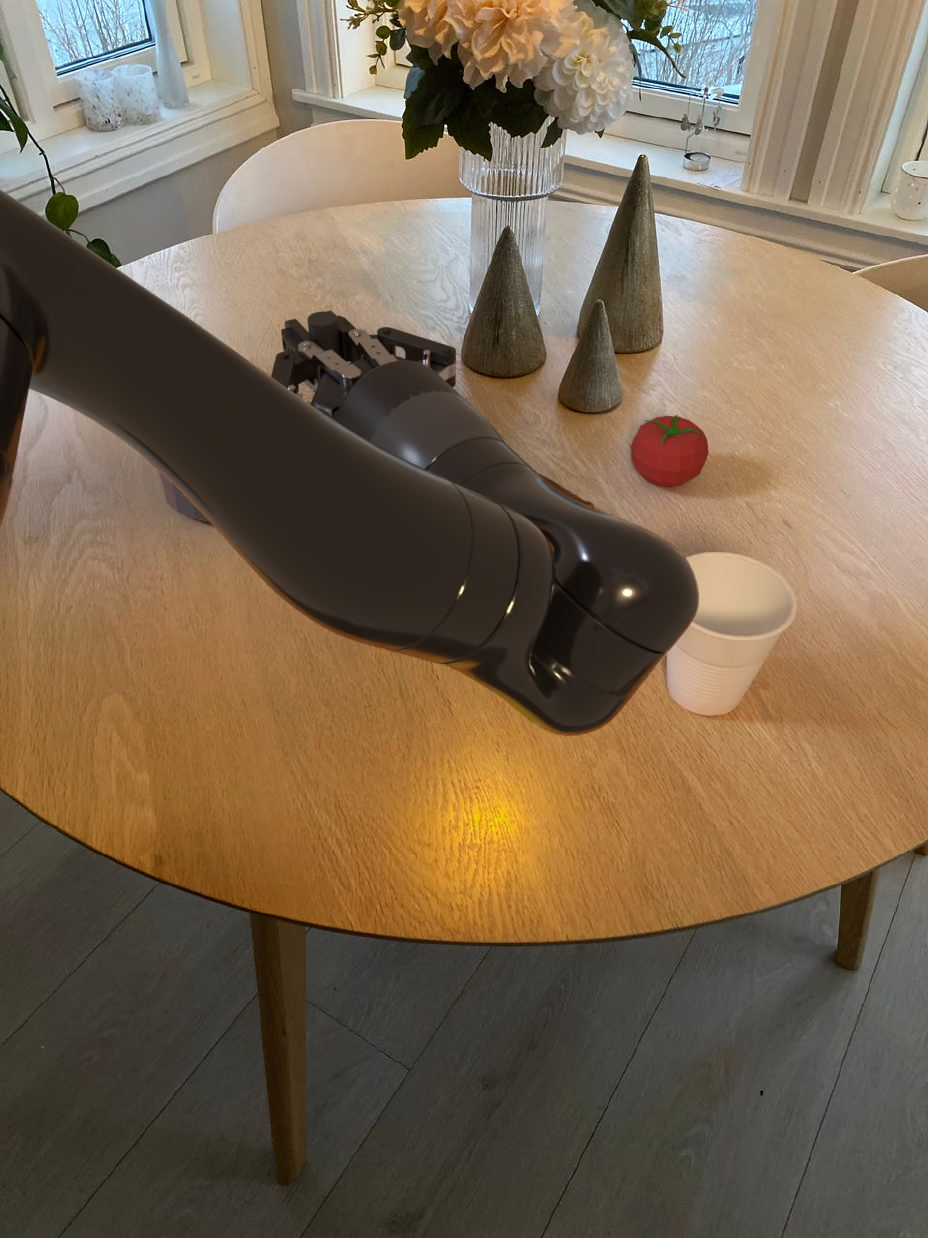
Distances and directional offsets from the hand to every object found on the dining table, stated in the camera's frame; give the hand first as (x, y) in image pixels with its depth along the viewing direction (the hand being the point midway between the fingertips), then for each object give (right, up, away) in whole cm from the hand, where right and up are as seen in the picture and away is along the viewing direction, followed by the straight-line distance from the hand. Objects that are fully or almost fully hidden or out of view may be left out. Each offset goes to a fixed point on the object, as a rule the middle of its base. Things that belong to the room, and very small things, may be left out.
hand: (308, 328), depth 66 cm
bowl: (-13, -6, +33) cm, 36 cm away
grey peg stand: (+1, -12, +8) cm, 14 cm away
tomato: (+32, -5, +36) cm, 48 cm away
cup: (+31, -26, +14) cm, 43 cm away
